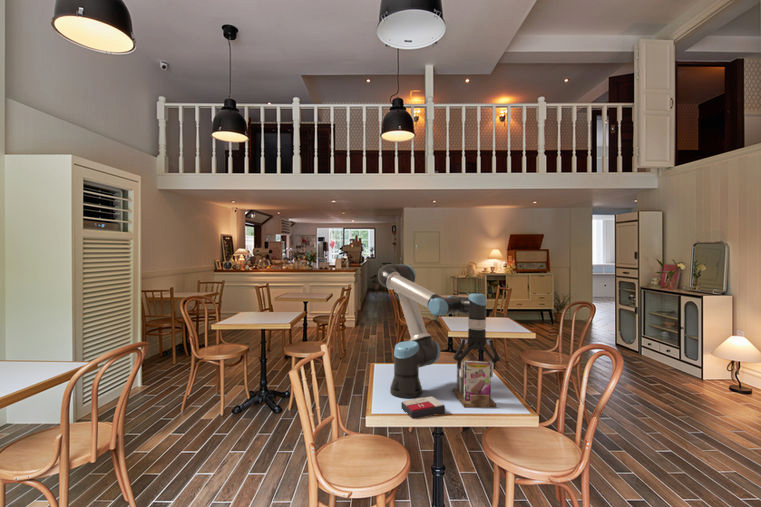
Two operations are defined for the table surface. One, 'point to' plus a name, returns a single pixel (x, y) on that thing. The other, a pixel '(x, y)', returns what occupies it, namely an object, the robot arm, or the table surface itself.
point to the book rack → (474, 399)
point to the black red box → (423, 407)
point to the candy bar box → (477, 378)
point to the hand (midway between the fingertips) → (476, 376)
